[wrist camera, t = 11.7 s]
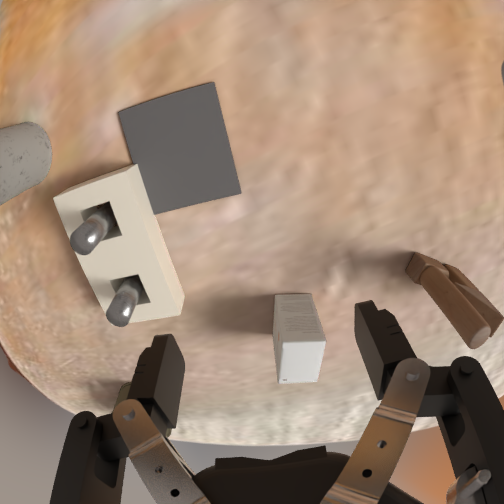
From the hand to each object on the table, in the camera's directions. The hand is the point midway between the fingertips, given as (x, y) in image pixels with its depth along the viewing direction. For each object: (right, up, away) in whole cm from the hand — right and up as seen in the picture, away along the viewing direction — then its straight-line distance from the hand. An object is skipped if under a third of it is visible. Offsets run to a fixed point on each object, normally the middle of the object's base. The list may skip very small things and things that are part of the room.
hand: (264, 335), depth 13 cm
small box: (+5, -6, +34) cm, 35 cm away
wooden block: (+28, +1, +32) cm, 43 cm away
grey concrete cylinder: (-32, +17, +21) cm, 42 cm away
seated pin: (-17, 0, +30) cm, 35 cm away
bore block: (-18, +5, +28) cm, 34 cm away
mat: (-9, +16, +23) cm, 29 cm away
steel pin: (-19, +9, +26) cm, 33 cm away
